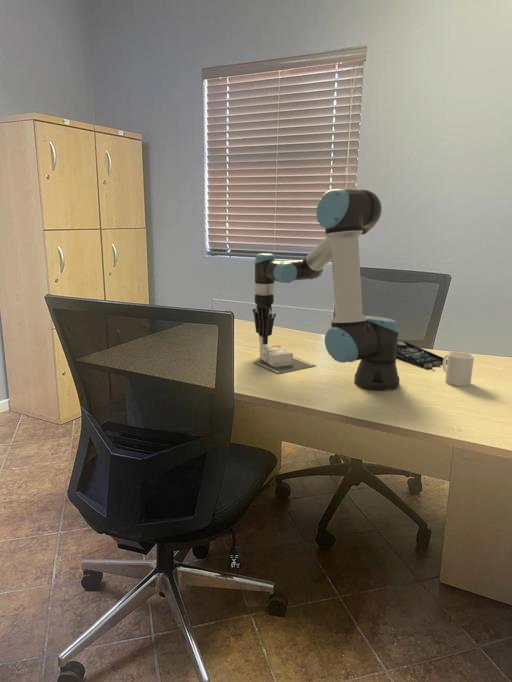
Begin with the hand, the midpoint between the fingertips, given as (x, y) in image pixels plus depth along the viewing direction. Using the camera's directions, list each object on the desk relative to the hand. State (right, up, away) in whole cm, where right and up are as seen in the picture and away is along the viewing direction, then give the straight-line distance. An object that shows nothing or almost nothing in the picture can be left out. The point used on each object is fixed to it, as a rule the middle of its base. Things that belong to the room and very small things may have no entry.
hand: (263, 351), depth 211 cm
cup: (+67, -10, -27) cm, 73 cm away
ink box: (+2, 0, -4) cm, 4 cm away
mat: (+8, -5, -11) cm, 14 cm away
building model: (+61, -4, -1) cm, 61 cm away
